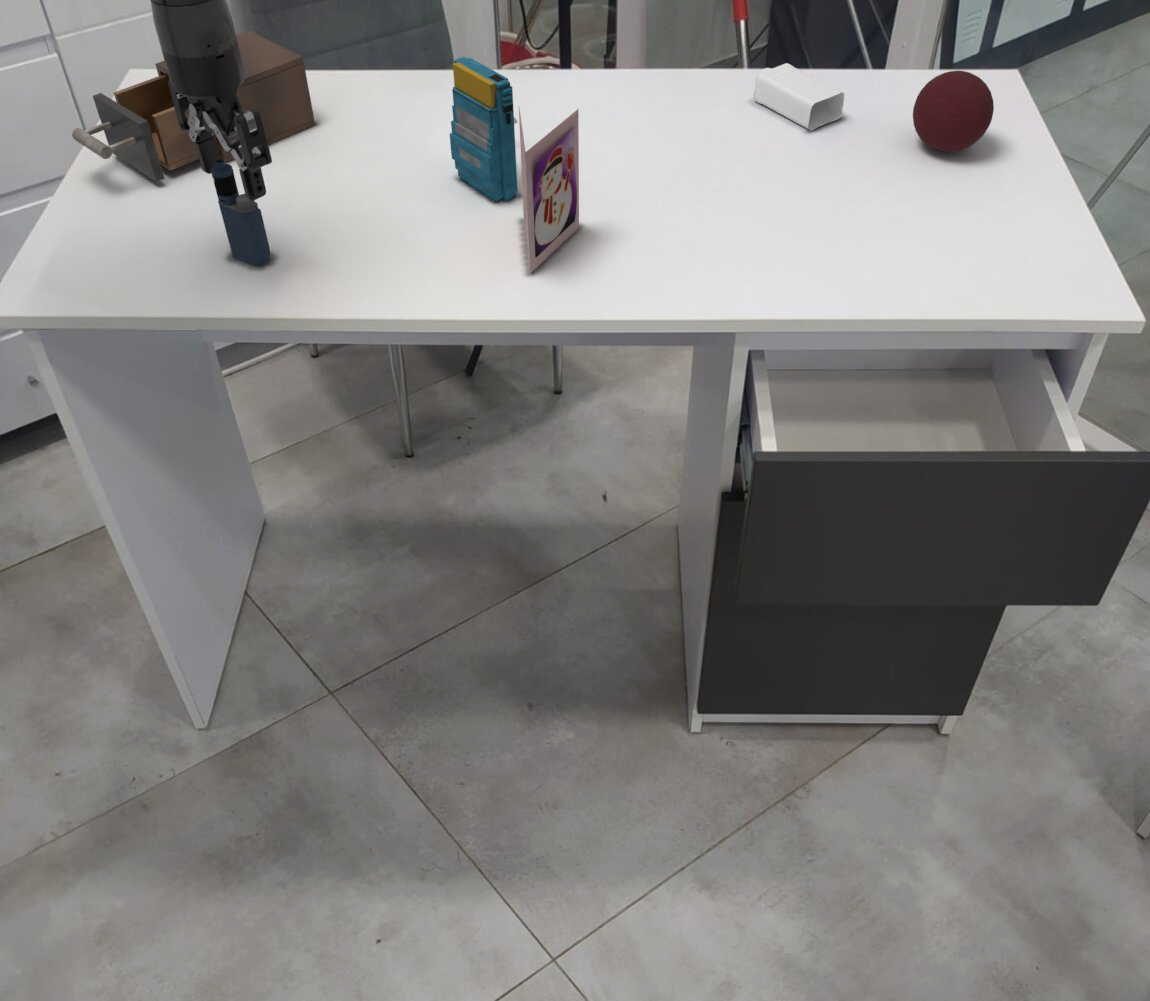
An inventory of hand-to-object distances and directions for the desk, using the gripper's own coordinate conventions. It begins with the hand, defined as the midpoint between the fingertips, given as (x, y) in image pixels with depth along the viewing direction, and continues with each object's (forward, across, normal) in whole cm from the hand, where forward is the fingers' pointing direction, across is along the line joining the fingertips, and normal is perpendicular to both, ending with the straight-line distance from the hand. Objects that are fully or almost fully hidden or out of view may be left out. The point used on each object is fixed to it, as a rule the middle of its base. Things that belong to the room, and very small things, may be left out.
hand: (234, 183), depth 124 cm
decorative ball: (+10, +45, +79) cm, 91 cm away
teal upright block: (+10, +8, +30) cm, 32 cm away
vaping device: (+10, 0, 0) cm, 10 cm away
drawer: (+9, -28, +5) cm, 30 cm away
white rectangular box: (+10, +24, +74) cm, 79 cm away
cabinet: (+10, -28, +18) cm, 35 cm away
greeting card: (+10, +22, +25) cm, 35 cm away
